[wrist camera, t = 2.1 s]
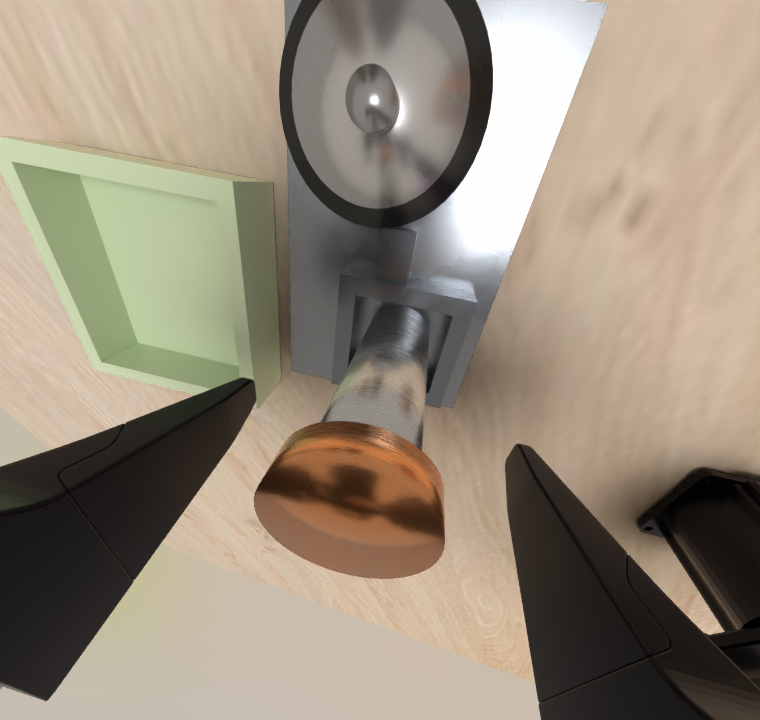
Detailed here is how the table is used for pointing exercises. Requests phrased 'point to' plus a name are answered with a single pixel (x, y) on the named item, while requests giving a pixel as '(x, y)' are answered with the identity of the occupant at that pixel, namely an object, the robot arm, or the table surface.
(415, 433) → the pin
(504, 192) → the tensioner
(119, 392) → the table surface
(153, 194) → the tray
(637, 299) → the table surface
